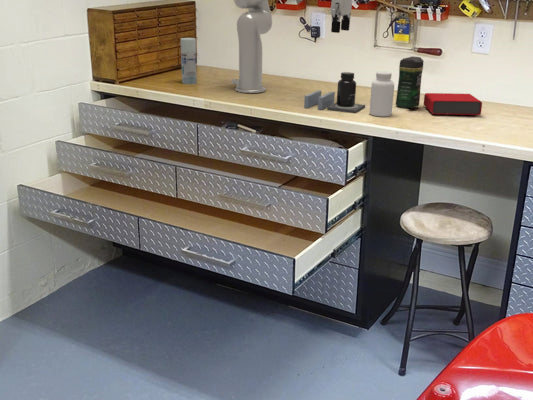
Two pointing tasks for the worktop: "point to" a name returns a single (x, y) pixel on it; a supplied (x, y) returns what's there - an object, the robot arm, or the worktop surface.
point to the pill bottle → (382, 95)
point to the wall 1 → (312, 99)
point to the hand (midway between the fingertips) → (340, 31)
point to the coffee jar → (409, 82)
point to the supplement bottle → (346, 90)
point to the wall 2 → (326, 100)
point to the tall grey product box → (188, 60)
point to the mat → (346, 108)
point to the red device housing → (452, 104)
